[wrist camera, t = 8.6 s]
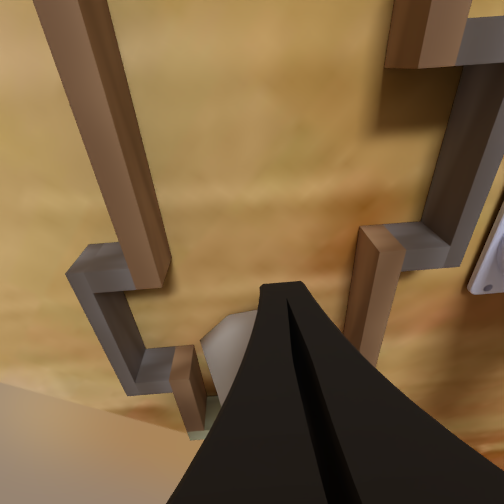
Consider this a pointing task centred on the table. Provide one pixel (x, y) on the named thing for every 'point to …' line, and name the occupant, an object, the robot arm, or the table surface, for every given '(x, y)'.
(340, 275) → the table surface
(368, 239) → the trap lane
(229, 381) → the flask
